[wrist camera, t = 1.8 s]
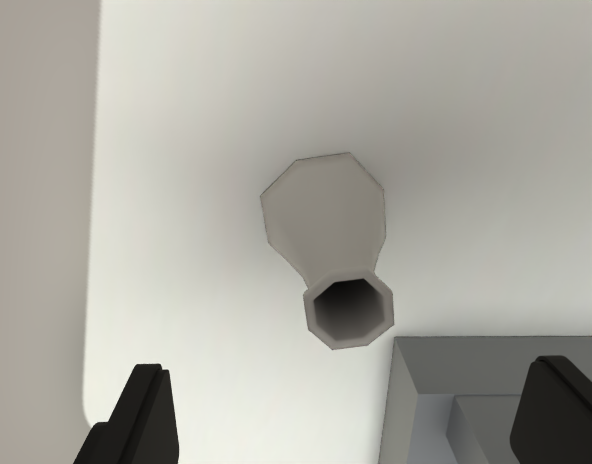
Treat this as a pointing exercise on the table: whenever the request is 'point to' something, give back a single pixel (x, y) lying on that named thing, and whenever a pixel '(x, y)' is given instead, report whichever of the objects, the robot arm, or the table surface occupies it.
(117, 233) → the table surface
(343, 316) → the flask
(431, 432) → the scale
